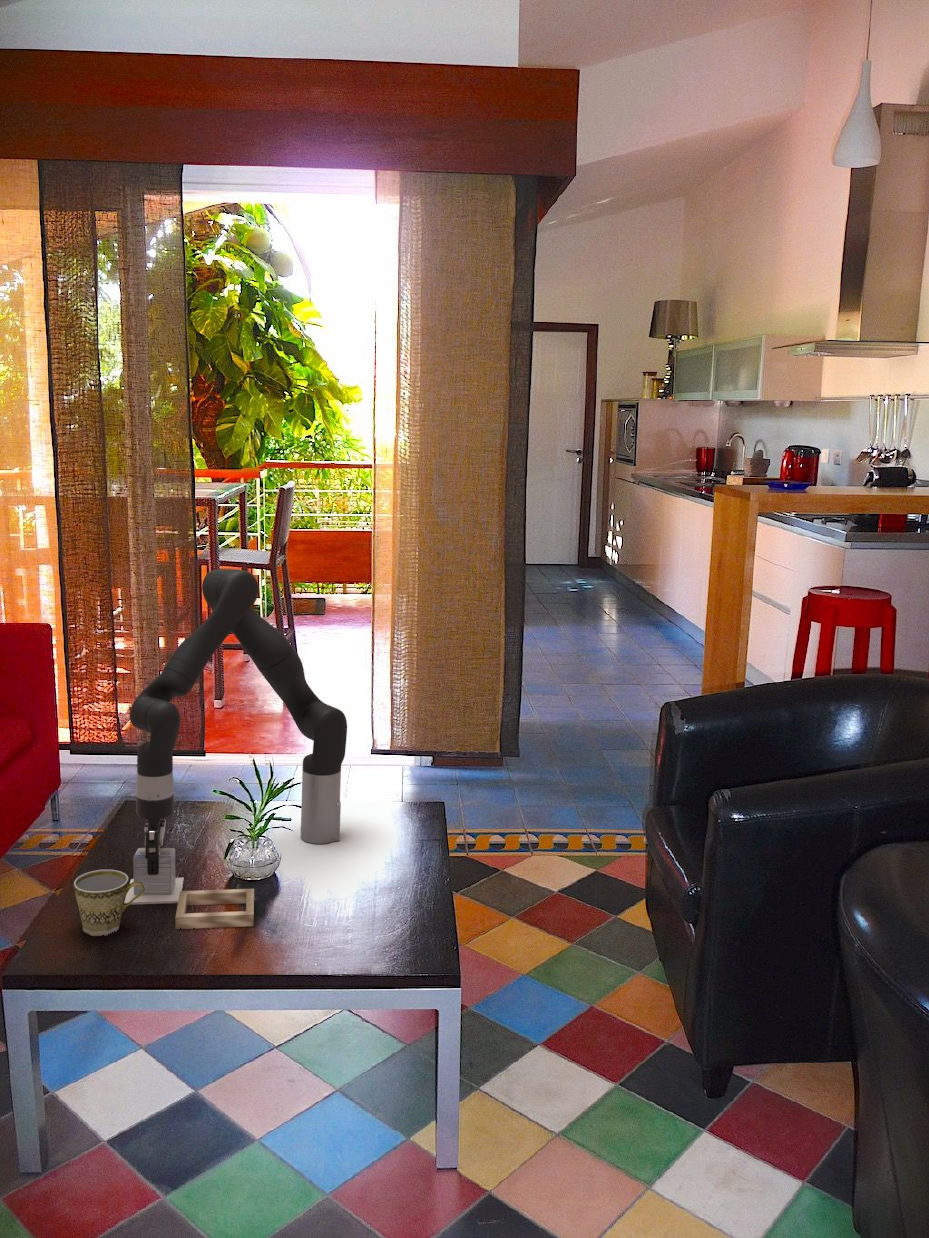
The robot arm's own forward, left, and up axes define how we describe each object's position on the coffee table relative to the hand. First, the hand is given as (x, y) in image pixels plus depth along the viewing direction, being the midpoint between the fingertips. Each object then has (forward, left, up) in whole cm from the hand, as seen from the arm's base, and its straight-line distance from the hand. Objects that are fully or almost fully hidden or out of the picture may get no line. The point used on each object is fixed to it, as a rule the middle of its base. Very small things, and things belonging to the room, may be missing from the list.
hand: (155, 865), depth 213 cm
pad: (0, 0, -6) cm, 6 cm away
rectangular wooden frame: (-13, +11, -6) cm, 18 cm away
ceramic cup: (+7, +15, -6) cm, 18 cm away
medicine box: (0, 0, -6) cm, 6 cm away
